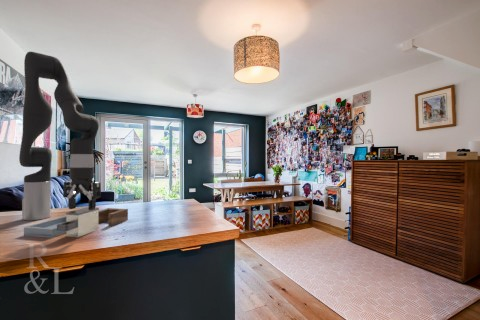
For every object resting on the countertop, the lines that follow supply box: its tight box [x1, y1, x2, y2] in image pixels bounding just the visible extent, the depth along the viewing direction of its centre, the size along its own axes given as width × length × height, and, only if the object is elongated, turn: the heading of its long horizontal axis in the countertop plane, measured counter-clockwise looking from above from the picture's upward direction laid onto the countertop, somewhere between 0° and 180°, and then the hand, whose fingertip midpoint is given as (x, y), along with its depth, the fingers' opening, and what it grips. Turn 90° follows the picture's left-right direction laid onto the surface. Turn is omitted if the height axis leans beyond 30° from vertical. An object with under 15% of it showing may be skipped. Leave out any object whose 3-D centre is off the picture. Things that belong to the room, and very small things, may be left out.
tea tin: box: [57, 206, 100, 238], centre depth 81 cm, size 5×13×9 cm, turn 170°
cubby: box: [98, 207, 129, 227], centre depth 97 cm, size 10×10×5 cm
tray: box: [23, 215, 66, 239], centre depth 86 cm, size 12×16×3 cm
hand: (82, 209), depth 83 cm, fingers open, 8 cm apart
